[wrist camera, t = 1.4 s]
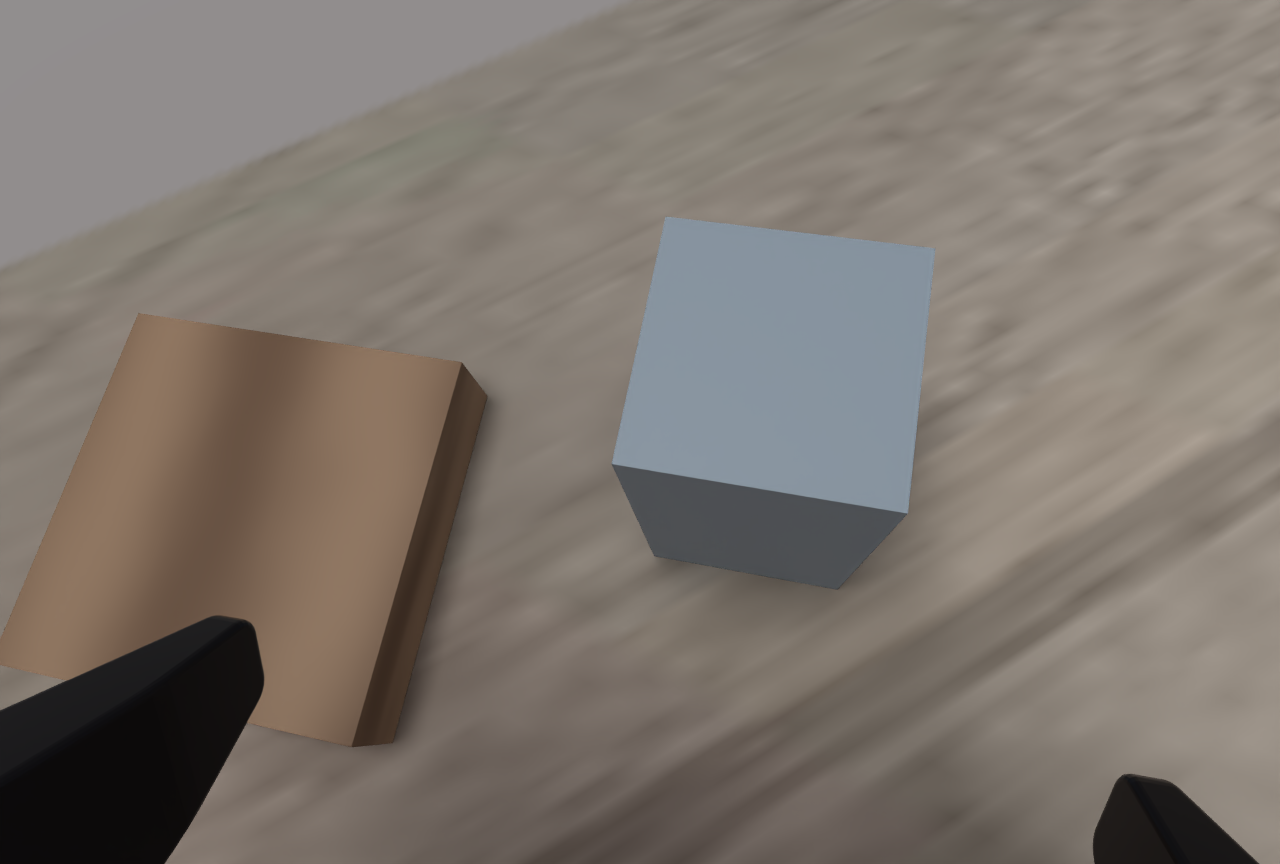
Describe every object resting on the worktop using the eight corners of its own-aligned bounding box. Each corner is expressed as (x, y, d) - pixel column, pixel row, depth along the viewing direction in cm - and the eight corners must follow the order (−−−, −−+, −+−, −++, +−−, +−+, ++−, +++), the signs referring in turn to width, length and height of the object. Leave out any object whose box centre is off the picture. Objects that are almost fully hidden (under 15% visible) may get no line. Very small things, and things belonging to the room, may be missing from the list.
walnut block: (491, 401, 25) (461, 362, 22) (399, 742, 22) (351, 747, 19) (200, 355, 27) (138, 313, 24) (78, 668, 24) (-10, 662, 21)
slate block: (859, 415, 23) (935, 248, 15) (837, 589, 22) (908, 513, 13) (686, 389, 24) (665, 216, 16) (654, 555, 23) (611, 464, 14)
